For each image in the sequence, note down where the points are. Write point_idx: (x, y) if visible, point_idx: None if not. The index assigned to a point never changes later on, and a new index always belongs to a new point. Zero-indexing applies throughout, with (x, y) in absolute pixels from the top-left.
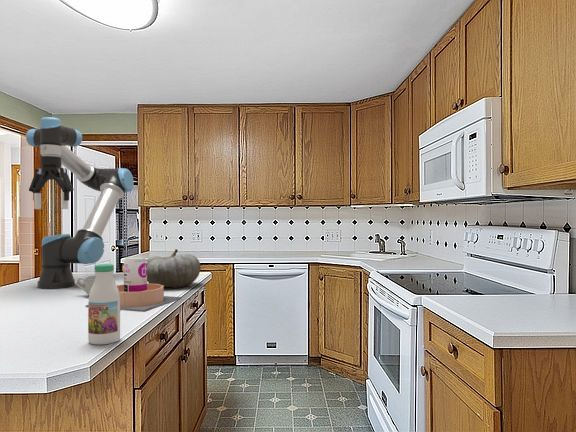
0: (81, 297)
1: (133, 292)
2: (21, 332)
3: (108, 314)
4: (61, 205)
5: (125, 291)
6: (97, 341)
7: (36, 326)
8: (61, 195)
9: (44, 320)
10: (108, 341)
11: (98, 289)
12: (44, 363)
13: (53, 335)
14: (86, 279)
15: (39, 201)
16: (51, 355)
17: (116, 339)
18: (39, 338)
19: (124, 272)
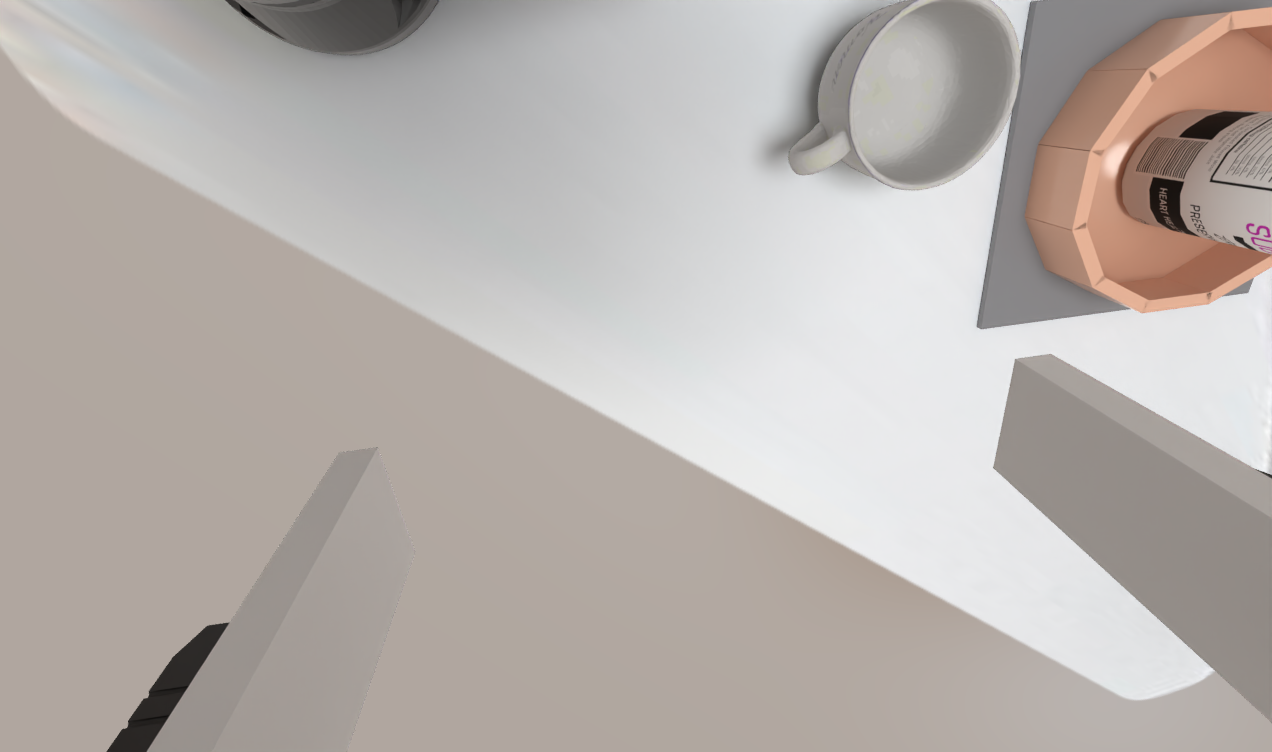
0: (816, 173)
1: (1246, 280)
2: (992, 589)
3: None
4: (1040, 507)
5: (1170, 229)
6: None
7: (989, 547)
8: (1240, 687)
9: (964, 503)
10: None
11: None
12: (1173, 663)
13: (1087, 573)
14: (898, 188)
15: (332, 602)
16: (1162, 640)
17: None
18: (1069, 597)
19: (1258, 247)
